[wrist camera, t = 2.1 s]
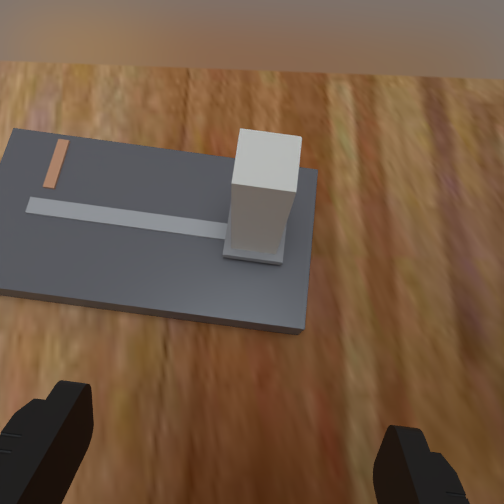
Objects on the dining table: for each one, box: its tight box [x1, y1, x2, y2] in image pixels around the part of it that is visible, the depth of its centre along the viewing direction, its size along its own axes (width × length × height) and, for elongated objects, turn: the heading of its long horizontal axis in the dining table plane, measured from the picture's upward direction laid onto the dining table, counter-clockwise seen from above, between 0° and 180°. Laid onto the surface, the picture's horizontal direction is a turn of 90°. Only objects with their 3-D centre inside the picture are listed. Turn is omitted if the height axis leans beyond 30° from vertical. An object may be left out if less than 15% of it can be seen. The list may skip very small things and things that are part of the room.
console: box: [0, 128, 318, 335], centre depth 30 cm, size 23×12×3 cm, turn 83°
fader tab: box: [223, 128, 302, 265], centre depth 24 cm, size 4×4×10 cm
